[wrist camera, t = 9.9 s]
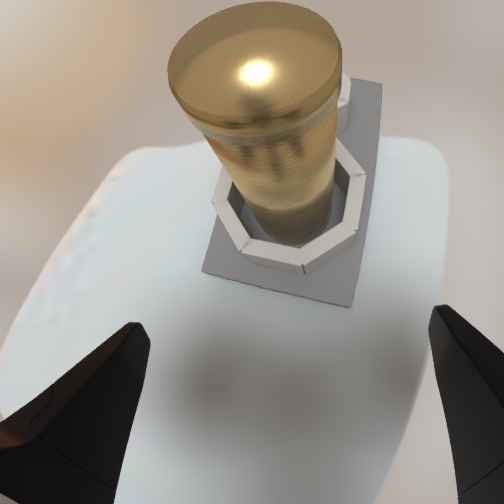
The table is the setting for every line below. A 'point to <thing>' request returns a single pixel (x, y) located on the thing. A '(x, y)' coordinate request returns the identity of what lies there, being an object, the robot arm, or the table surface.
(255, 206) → the gold metal cylinder
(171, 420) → the table surface
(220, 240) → the manifold plate
